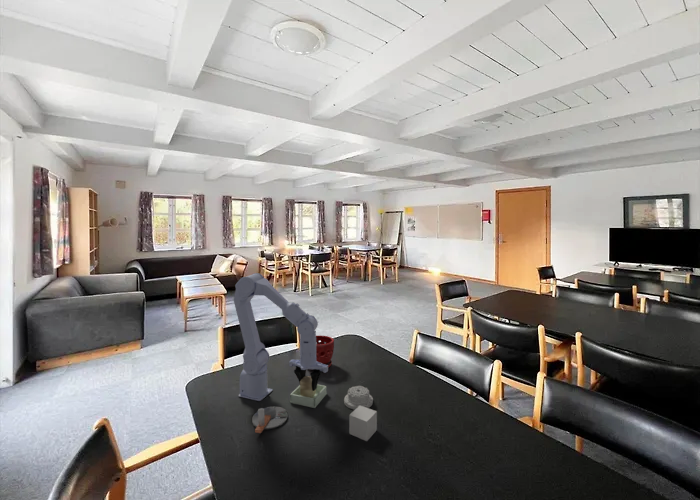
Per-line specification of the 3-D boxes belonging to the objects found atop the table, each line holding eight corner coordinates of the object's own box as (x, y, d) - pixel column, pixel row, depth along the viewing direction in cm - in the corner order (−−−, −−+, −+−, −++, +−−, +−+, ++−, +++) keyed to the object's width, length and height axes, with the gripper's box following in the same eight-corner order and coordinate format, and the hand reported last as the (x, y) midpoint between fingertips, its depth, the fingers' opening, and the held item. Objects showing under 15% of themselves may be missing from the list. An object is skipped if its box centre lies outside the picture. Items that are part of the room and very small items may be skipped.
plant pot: (333, 372, 133) (333, 345, 132) (301, 372, 134) (301, 344, 133) (335, 359, 146) (334, 334, 145) (306, 359, 147) (306, 334, 146)
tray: (290, 402, 111) (289, 394, 111) (303, 389, 120) (303, 381, 120) (314, 408, 108) (314, 399, 107) (326, 393, 117) (326, 386, 116)
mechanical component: (341, 409, 108) (370, 412, 106) (341, 396, 107) (370, 399, 105) (347, 393, 117) (374, 396, 115) (347, 382, 117) (374, 384, 115)
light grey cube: (349, 434, 94) (349, 414, 94) (359, 423, 99) (359, 405, 99) (366, 441, 91) (366, 421, 91) (376, 430, 96) (376, 411, 96)
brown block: (300, 397, 112) (299, 381, 112) (305, 391, 116) (305, 375, 115) (310, 399, 111) (310, 382, 110) (315, 393, 114) (315, 377, 114)
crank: (267, 411, 104) (266, 394, 103) (277, 412, 103) (277, 395, 103) (252, 433, 93) (251, 414, 93) (263, 434, 93) (263, 415, 92)
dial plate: (244, 425, 99) (244, 422, 99) (265, 406, 109) (265, 403, 109) (275, 432, 95) (275, 429, 95) (294, 412, 105) (293, 409, 105)
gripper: (284, 352, 111) (285, 390, 112) (321, 358, 106) (322, 397, 107) (294, 345, 118) (295, 380, 119) (330, 350, 113) (330, 387, 114)
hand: (308, 388), depth 114 cm, fingers closed on brown block, 4 cm apart
